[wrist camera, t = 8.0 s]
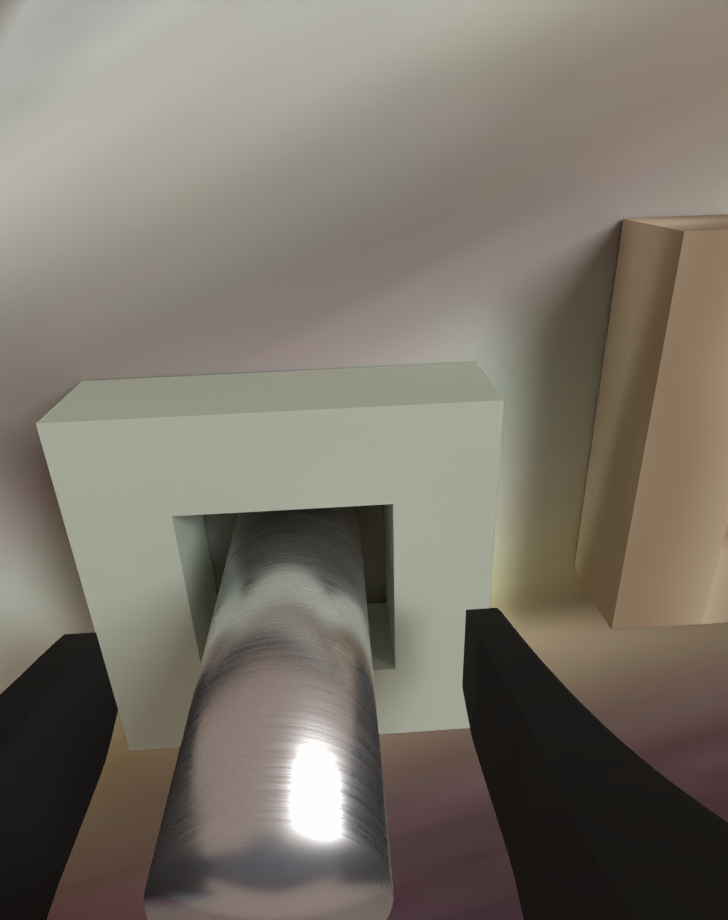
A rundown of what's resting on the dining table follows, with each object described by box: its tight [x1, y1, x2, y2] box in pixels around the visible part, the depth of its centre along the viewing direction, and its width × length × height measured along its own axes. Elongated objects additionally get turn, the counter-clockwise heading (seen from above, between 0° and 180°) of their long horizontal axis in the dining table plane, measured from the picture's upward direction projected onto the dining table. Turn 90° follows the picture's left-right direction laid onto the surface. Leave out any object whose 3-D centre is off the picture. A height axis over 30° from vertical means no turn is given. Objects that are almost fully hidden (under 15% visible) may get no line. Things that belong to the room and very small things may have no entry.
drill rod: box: [144, 506, 393, 920], centre depth 12 cm, size 3×3×9 cm
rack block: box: [36, 362, 504, 751], centre depth 15 cm, size 9×9×2 cm
